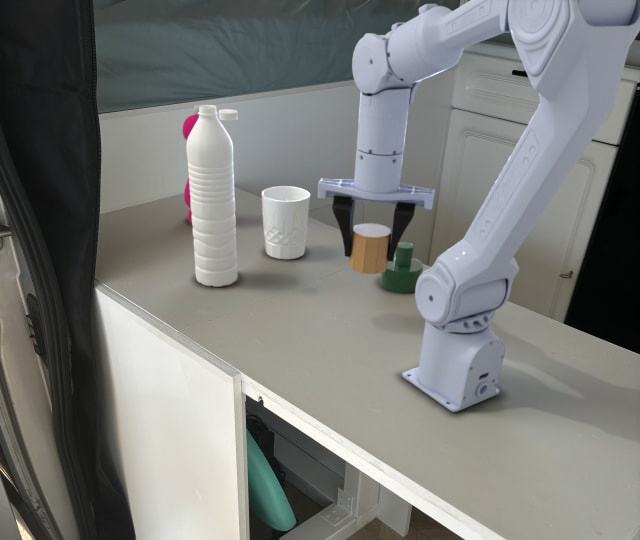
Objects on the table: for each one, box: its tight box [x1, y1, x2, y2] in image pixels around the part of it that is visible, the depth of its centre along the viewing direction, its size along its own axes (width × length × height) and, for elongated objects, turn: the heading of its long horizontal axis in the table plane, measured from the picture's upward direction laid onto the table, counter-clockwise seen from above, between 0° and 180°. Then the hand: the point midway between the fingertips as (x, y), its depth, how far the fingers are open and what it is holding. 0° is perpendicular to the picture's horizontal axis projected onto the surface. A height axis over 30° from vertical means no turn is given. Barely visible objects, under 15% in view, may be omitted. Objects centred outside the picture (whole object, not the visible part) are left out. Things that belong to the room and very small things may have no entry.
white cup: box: [261, 185, 311, 260], centre depth 110 cm, size 8×8×10 cm
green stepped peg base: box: [379, 241, 424, 294], centre depth 102 cm, size 6×6×6 cm
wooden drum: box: [348, 222, 392, 275], centre depth 87 cm, size 5×5×5 cm
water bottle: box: [185, 104, 239, 288], centre depth 95 cm, size 9×6×25 cm
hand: (369, 256), depth 87 cm, fingers closed on wooden drum, 5 cm apart
